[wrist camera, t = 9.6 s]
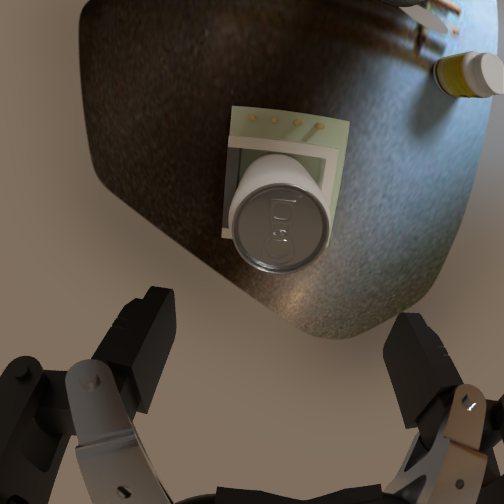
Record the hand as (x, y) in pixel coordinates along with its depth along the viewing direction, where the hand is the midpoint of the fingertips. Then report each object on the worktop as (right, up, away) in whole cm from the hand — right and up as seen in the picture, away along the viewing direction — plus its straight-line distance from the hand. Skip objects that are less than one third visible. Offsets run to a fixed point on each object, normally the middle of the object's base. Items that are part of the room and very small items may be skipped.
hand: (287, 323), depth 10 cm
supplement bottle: (+20, +22, +12) cm, 32 cm away
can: (+1, +9, +18) cm, 20 cm away
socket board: (+2, +10, +18) cm, 21 cm away
